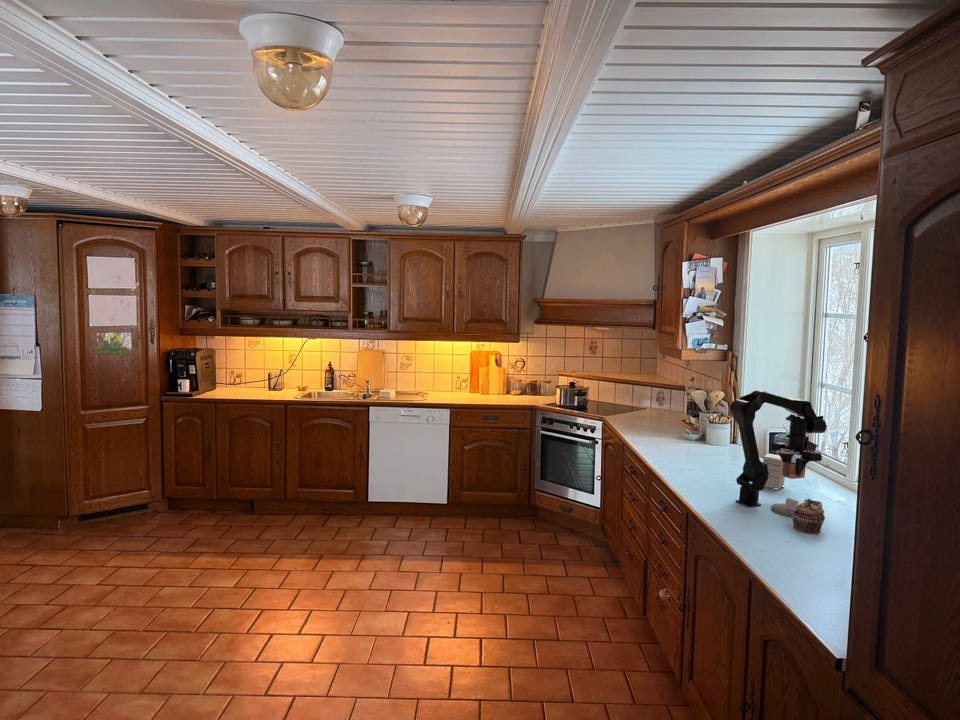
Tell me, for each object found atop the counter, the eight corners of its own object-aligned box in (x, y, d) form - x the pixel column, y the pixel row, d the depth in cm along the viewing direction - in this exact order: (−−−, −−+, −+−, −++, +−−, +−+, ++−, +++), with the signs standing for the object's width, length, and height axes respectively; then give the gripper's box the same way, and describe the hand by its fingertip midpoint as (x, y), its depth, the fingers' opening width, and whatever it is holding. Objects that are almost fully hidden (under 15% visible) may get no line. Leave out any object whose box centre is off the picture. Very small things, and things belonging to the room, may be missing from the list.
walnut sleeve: (790, 478, 243) (792, 465, 243) (781, 475, 247) (782, 462, 247) (804, 477, 246) (805, 464, 245) (794, 474, 250) (796, 461, 249)
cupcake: (794, 522, 224) (797, 494, 223) (826, 530, 217) (829, 501, 216) (787, 529, 216) (790, 499, 215) (819, 537, 210) (822, 507, 209)
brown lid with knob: (794, 519, 227) (796, 507, 226) (763, 508, 238) (764, 495, 238) (819, 516, 232) (820, 503, 232) (787, 504, 244) (789, 492, 244)
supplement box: (765, 483, 273) (768, 453, 272) (784, 487, 269) (787, 456, 268) (759, 486, 268) (763, 455, 267) (779, 490, 263) (782, 459, 262)
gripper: (835, 438, 239) (830, 480, 241) (793, 427, 256) (789, 466, 258) (812, 438, 235) (807, 481, 237) (771, 427, 252) (767, 467, 254)
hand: (793, 474), depth 246 cm, fingers closed on walnut sleeve, 4 cm apart
